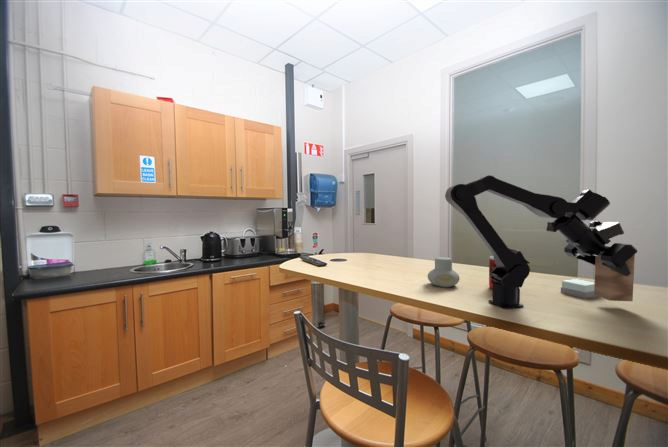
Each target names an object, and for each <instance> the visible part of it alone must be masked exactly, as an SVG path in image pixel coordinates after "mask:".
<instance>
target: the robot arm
mask: <svg viewBox="0 0 668 447" xmlns="http://www.w3.org/2000/svg"><path fill="white" fill-rule="evenodd" d="M485 192H487V193H491V194H493V195H496V196H499V197H501V198H503V199H506V200H509V201H512V202H514V203H516V204H518V205H521V206H523V207H524V208H526V209H527V210H529V212H531V213H533V214H535V216H537V217H540V218H543V219H544V218H545V219H554V220H553V221H551V222H550V221H547V223H546V224H547V226H546V228H545V230H546V232H548V233H549V232H550V233H556V232H559V233H560V234H561V235H562V236H563V237H564V238H566V240H565V242H566V243H567V245H565V247H564V253H565V254H566V255H567V256H568V257H571V258H576V259H577V260H579V261H582V262H585V263H587V264H590V265H592V266H594V267H595V256H599V255H601V261H603V263H602V265H604V266H606V267H608V268H610V269H612V270H615V271H617V272H619V273H621V274H623V275H626V276H629V275H630V274H631V273H630V271H629V268H628V266H627V264H626V261H627V260H628V259H630V258H631V257H632V256H633V255H634V254H637V253H638V249H637V248H636V247H635V246H634V245H632V244H629V243H622V242H621V243H620V242H615V243H613V244H612V245H611V246H607V245H609V243H610V242H612V241H611V239H612V238H615V237H618V236H620V235H624V234H625V231H624V229H623V227H622V224H620V222H619V221H603V222H601V221H599V220H594V219H596V218H597V217H598V216H599V215H600V214H601V213H603V211H604V210H606V208H608V207H609V206H610V204H611V202H610V200H609V199H608V198H607V197H605V196H603V195H601V194H599V193H597V192H593V191H592V190H591V189H584V190H582V191H581V192H580V193H579V195H578V196H577V197H576V198H575V199H574V200H572V201H571V202H569V201H567V200H566V199H565V198H563V197H560V196H553V195H550V194H543V193H542V194H541V193H537V192H533V191H530V190H527V189H525V188H522V187H519V186H518V185H514V184H512V183H511V182H510V183H509V182H507V181H504V180H501V179H499V178H496V177H495V176H494V175H489V174H488V175H485V176H482V177H480V178H479V179H476V180H474V181H472V182H469V183H460V184H459V183H458V184H456V185H452V186H450V187H449V188H447V189H446V191H445V194H444V197H445V200H446V202H447V203H448V204H449V205H450V206H452V208H454V209H455V210H456V211H458V212H459V213H460V214H461V215H462V216H463V217H464V218H465V219H466V220H467V222H468V223H469V224H470V226H471V227H472V229H474V231H475V232H476V234H477V235H478V236H479V238H480V239H481V241H483V243H484V245H486V248H487V249H488V250H489V251H490V252H491V254H492V256H493V257H494V261H495V264H496V266H497V267H496V268H495V269H494V270H493V271H491V272H490V277H491V279H492V280H494V281H495V283H493V290H492V299H489V300H488V301H487V302H488V303H491V304H493V305H495V306H498V307H500V308H502V309H514V308H523V307H524V304H523V303H520V300H521V299H520V296H521V295H520V294H521V290H520V288H523V285H524V282H525V280H526V279H527V278H528V276H530V271H531V267H530V266H529V264H530V261H528V260H527V259H526V258H525V256H524V255H523V253H522V251H520V250H517V249H514V248H512V247H511V248H509V247H508V245H507V244H506V243H505V242H504V240H503V239H502V238H501V236H500V235H499V234H498V233H497V231H496V230H495V228H494V227H493V225H492V224H491V223H490V222H489V220H488V219H487V218H486V217H485V215H484V214H483V212H482V211H481V210H480V208H479V205H478V203H477V202H478V201H477V199H476V196H478V195H479V194H482V193H485ZM584 221H590V222H589V224H588V225H589V226H588V225H587V224H586V223H585V222H584Z"/></svg>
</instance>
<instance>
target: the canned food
mask: <svg viewBox="0 0 668 447" xmlns="http://www.w3.org/2000/svg"><path fill="white" fill-rule="evenodd" d="M488 258H489V260H488V270H489V271H488V286H489V289H490V290H492V291H493V283H495V281H494V280H492V279H491V277H490V272H491V271H493V270H494V269H495V268H496V267H497V266H496V264H495V261H494V257H493V255H490V256H489V257H488Z"/></svg>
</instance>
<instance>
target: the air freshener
mask: <svg viewBox="0 0 668 447" xmlns="http://www.w3.org/2000/svg"><path fill="white" fill-rule="evenodd" d="M427 279H428V281H429V282H430V283H431V284H432V285H434V286H437V287H440V288H451V287H455V285H457V284H458V283H459V282H460V275H459V273H457V271H455V270H454V269H453V259H452V257H446V256H437V257H435V258H434V268H433V269H431V270H430V271H429V272H428V274H427Z"/></svg>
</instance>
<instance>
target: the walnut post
mask: <svg viewBox="0 0 668 447" xmlns="http://www.w3.org/2000/svg"><path fill="white" fill-rule="evenodd" d="M635 257H636V256H635V254H634V255H633V256H632V257H631V258H630V259H628V260H627V261H626V264H627V266H628V268H629V271H630V273H631V274H630V275H629V276H626V275H623V274H621V273H619V272H617V271H615V270H612V269H610V268H608V267H606V266H604V265H602V263H603V261H601V255H599V256H595V266H594V295H596V296H598V297H599V298H602V299H605V300H608V301H610V302H612V301H613V302H633V301H634V300H633V298H634V279H635V278H634V276H635Z"/></svg>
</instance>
